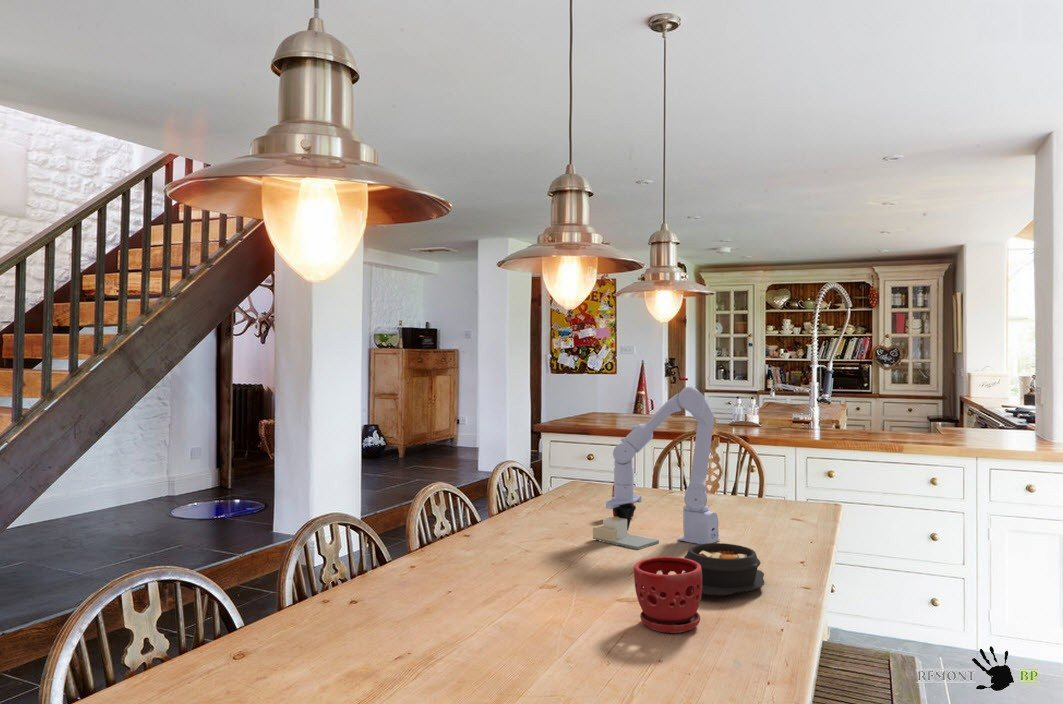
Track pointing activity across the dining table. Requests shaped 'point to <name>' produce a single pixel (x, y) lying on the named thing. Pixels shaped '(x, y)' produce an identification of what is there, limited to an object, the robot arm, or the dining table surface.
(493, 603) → the dining table surface
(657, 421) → the robot arm
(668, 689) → the dining table surface
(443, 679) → the dining table surface
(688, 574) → the plant pot
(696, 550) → the casserole
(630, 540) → the board
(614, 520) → the cabinet block
